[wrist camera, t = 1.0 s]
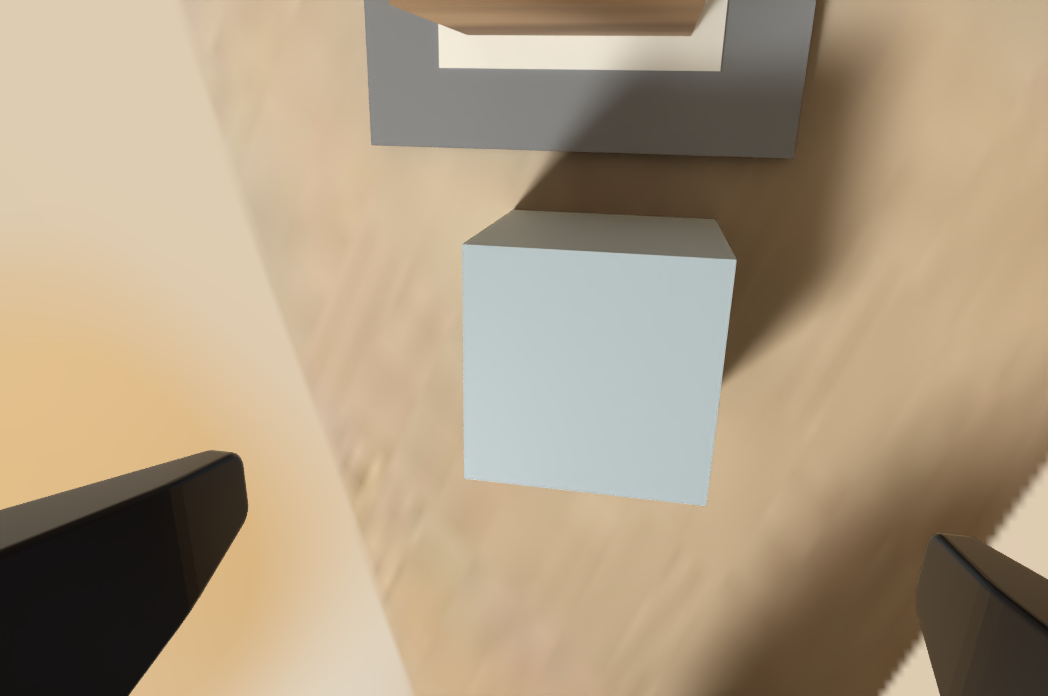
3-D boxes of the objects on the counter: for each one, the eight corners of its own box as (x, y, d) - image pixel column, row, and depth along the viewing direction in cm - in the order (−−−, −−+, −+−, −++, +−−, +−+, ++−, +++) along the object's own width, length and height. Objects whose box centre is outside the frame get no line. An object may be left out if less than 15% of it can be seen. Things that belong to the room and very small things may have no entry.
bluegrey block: (694, 406, 19) (706, 506, 14) (511, 389, 19) (464, 478, 15) (715, 218, 17) (736, 259, 12) (514, 209, 18) (461, 244, 13)
